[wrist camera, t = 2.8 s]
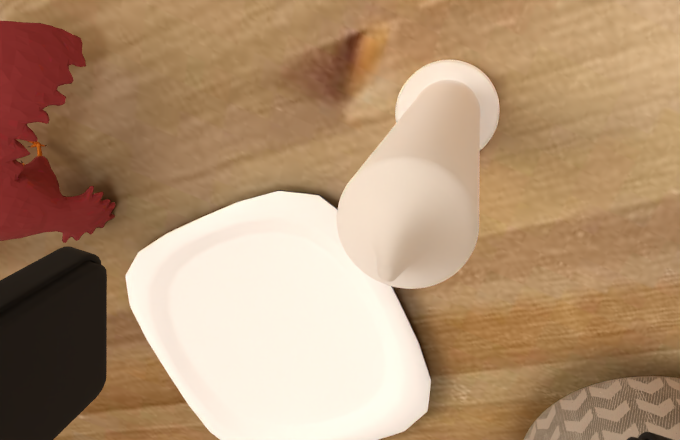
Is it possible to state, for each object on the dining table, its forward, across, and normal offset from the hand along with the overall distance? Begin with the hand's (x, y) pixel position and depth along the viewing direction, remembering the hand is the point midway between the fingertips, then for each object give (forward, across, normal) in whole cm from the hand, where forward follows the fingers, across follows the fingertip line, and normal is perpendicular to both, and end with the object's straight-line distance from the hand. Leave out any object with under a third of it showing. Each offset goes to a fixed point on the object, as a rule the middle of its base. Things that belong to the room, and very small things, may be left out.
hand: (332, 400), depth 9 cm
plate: (+30, +9, +22) cm, 39 cm away
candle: (+30, 0, 0) cm, 30 cm away
